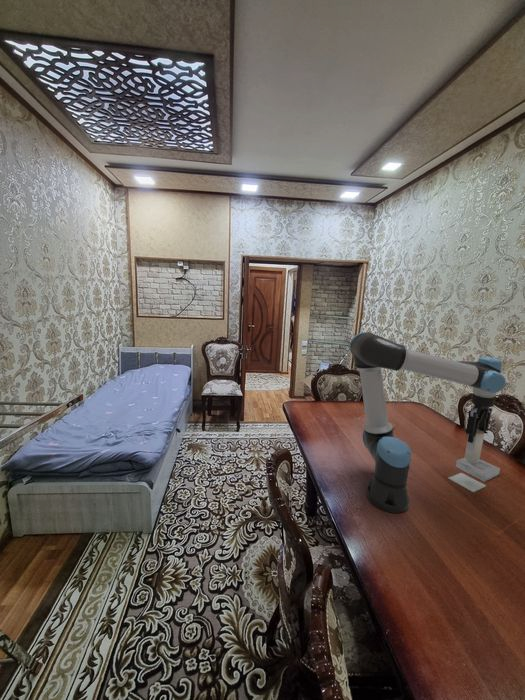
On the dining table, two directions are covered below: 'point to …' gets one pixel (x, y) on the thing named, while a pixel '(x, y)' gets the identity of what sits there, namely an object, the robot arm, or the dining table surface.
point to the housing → (484, 475)
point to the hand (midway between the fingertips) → (473, 447)
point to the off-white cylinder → (475, 454)
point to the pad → (467, 482)
